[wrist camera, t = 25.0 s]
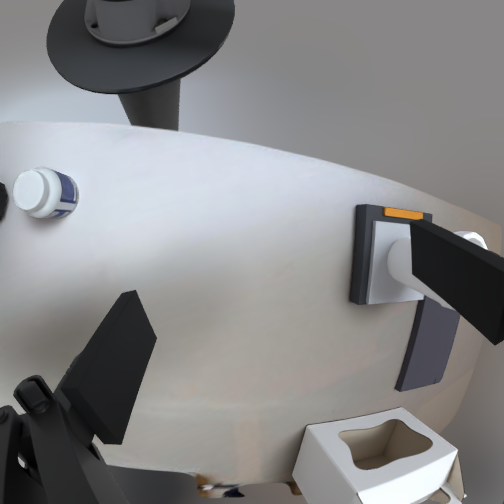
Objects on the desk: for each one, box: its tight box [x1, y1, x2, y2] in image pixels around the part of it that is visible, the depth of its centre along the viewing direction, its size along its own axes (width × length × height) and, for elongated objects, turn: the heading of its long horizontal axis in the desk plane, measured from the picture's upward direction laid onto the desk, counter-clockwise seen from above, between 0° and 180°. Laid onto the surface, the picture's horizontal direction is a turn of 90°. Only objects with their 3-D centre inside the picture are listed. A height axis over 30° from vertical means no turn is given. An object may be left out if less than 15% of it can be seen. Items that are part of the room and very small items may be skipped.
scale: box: [350, 204, 432, 305], centre depth 42 cm, size 14×14×3 cm
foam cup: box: [387, 231, 487, 310], centre depth 34 cm, size 10×9×13 cm
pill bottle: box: [13, 167, 79, 218], centre depth 27 cm, size 5×5×10 cm
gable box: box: [292, 407, 466, 504], centre depth 33 cm, size 22×13×28 cm, turn 82°
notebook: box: [395, 295, 460, 392], centre depth 48 cm, size 13×2×21 cm
